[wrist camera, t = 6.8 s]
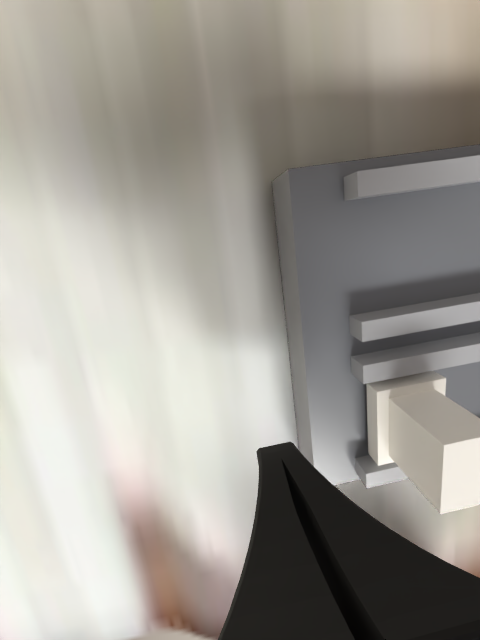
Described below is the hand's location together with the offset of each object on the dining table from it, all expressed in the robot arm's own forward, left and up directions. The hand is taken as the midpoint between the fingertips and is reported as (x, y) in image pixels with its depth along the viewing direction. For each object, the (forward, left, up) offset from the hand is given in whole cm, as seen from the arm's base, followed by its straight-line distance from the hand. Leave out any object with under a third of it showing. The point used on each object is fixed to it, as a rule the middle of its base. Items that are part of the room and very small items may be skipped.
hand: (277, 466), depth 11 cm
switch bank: (-10, -3, -4) cm, 11 cm away
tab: (-6, 0, -2) cm, 6 cm away
